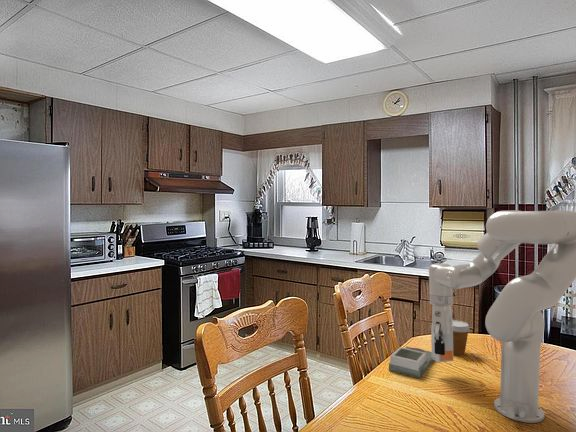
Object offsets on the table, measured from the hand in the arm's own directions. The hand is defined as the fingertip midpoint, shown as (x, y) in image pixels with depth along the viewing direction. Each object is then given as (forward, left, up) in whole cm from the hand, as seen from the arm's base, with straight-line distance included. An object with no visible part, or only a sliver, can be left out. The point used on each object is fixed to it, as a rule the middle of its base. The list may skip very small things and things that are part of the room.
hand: (442, 350), depth 136 cm
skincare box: (0, 0, -4) cm, 4 cm away
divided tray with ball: (+4, +11, -9) cm, 15 cm away
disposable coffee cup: (+25, 0, -9) cm, 26 cm away
